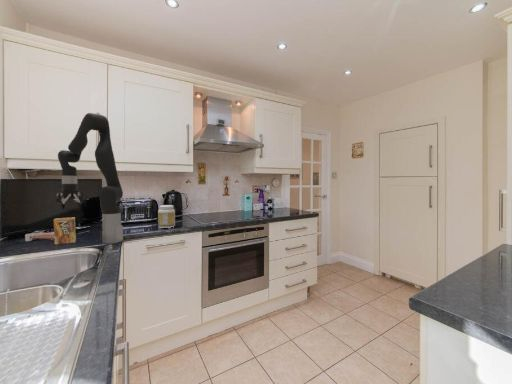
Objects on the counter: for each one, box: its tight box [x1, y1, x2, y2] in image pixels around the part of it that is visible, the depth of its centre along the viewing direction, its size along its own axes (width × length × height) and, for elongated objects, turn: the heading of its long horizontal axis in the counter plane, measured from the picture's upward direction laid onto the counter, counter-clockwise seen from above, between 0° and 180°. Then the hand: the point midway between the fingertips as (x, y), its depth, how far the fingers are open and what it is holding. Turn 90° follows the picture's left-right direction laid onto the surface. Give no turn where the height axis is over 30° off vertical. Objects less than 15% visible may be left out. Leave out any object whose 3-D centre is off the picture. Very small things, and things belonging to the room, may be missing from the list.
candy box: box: [53, 216, 77, 246], centre depth 128 cm, size 9×4×15 cm, turn 122°
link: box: [30, 231, 55, 240], centre depth 138 cm, size 22×5×3 cm, turn 86°
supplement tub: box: [157, 204, 176, 229], centre depth 177 cm, size 12×12×17 cm
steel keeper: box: [24, 230, 44, 242], centre depth 135 cm, size 10×11×4 cm
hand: (70, 209), depth 144 cm, fingers open, 7 cm apart
